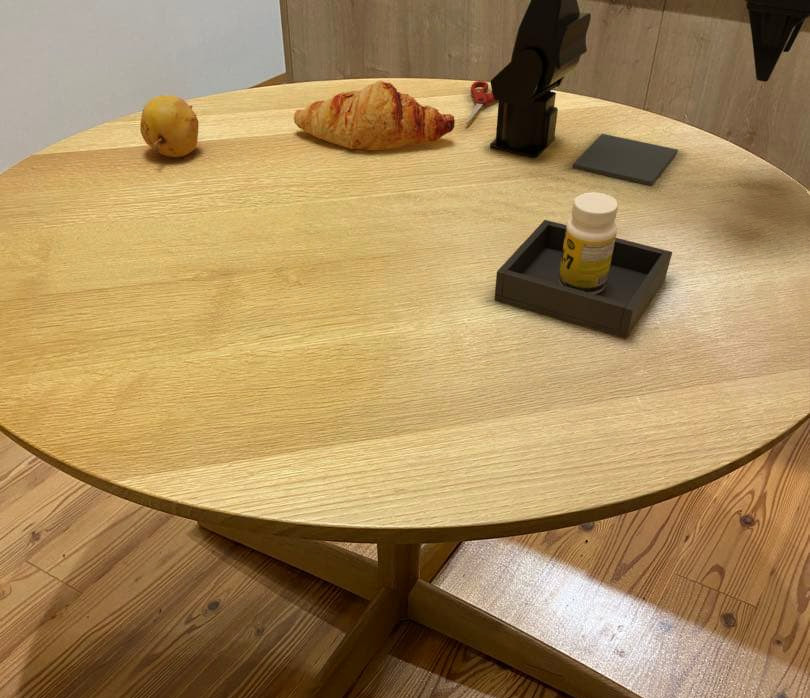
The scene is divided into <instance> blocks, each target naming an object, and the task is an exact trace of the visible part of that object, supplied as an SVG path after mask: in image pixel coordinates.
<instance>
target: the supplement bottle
mask: <svg viewBox="0 0 810 698" xmlns="http://www.w3.org/2000/svg"><path fill="white" fill-rule="evenodd" d="M618 207H619V204H618V201H617V199H615V198H614V197H613V196H611V195H609V194H606V193H602V192H585V193H581V194H578V195H577V196H576V197H575V198H574V201H573V205H572V208H571V209H572V210H571V216H570V218H568V220H567V222H566V224H565V225H566V232H565V238H564V245H563V251H562V258H561V265H560V271H559V279H558V281H559V284H560V285H563V286H566V287H570V288H574V289H577V290H581V291H584V292H588V293H591V294H598V293H600V292H601V291H603V290H604V288H605V286H606V283H607V278H608V273H609V268H610V263H611V258H612V254H613V248H614V243H615V238H617V234H618V226H617V222H616V219H617V214H618Z"/></svg>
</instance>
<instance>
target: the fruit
mask: <svg viewBox="0 0 810 698" xmlns="http://www.w3.org/2000/svg"><path fill="white" fill-rule="evenodd" d="M197 116H198V114H196V113H195V112H194V110H193V104H191V105H189V104H188V103H187V102H186V101H185V100H184V99H182V98H180V97H179V96H176V95H175V96H174V95H169V94H167V95H165V94H164V95H158V96H156V97H153V98H151V99H150V100H149V101H147V102H146V103H145V105H143V109H142V112H141V118H140V126H139V129H140V135H141V136H142V138H143V140H144V143H146V145H148V146H149V147H150V148H152V149H153V150H154V151H155V152H157V153H159V154H161V155H162V156H165V157H170V158H181V157H184V156H187V155H189V154H190V153H191V152H192V151H194V150H195V149H196V148H197V145H198V138H199V119H198V117H197Z"/></svg>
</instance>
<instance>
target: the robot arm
mask: <svg viewBox="0 0 810 698" xmlns="http://www.w3.org/2000/svg"><path fill="white" fill-rule="evenodd" d="M744 1H745V8H746V9H747V12H748V19H749V25H750V33H751V34H750V35H751V40H752V42H751V43H752V49H753V50H752V51H753V59H754V68H755V78H756V81H759V82H763V83H767V82H768V81H769V80H770V78H771V77H772V75H773V72H774V70H775V69H776V66H777V65H778V62H779V61H780V58H781V56H782V54H783V53H788V52H790V50H791V49H792V47H793V46H794V43H795V42H796V39H797V38H798V35H799V33H800V32H801V30H802V28H803V26H804V24H805V22H806V20H807V19H809V18H810V0H744ZM591 17H592V15H591V13H590V12H580V7H579V3H578V0H530V1H529V3H528V5H527V7H526V10H525V12H524V15H523V17H522V18H521V21H520V23H519V26H518V28H517V32H516V36H515V41H514V43H513V44H514V45H513V47H512V48H513V49H512V53H511V59H510V62H509V63H508V64H506V65H505V66H504V68H502V69H501V70H500V71H499V72H498V73H497V74H496V75H495V76H494V77H493V78H491V80H490V87H491V91H492V93H493V98H494V100H497V101H498V105H497V117H496V131H495V133H496V134H495V139H494V140H492V141H491V142H490V144H489V149H491V150H495V151H499V152H504V153H508V154H512V155H517V156H520V157H521V156H522V157H525V158H530V159H537V158H539V157H540V156H541V155H542V154H543V153H544V152H545V151H546V150H547V149H548V148H549V147H550V146H551V145H552V144H553V143H554V142H555V141H556V129H557V128H556V127H557V122H558V121H557V119H558V111H559V109H558V106H555V103H556V97H557V96H556V95H557V92H556V91H553V90H554V89H555V88H559V87H560V86H562V83H563V81H564V79H565V77H566V75H569V74H570V72H572V71H573V70H574V69H575V68H576V67H577V65H578V64H579V61H580V59H581V56H583V55H584V54H586V53H587V51H588V49H587V34H588V30H589V27H590V23H591V19H592V18H591ZM497 101H496V102H497Z"/></svg>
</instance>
